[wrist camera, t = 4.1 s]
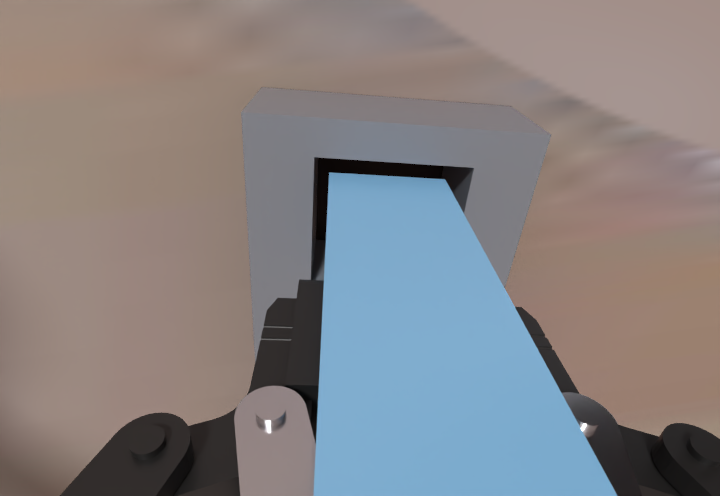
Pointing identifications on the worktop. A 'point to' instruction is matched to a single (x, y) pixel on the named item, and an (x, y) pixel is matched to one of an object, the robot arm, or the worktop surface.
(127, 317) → the worktop surface
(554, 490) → the plug
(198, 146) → the worktop surface
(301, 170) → the panel
